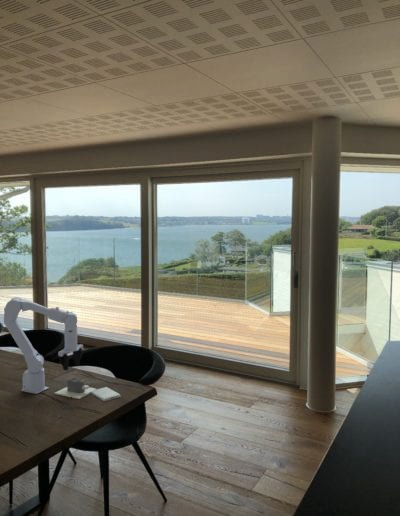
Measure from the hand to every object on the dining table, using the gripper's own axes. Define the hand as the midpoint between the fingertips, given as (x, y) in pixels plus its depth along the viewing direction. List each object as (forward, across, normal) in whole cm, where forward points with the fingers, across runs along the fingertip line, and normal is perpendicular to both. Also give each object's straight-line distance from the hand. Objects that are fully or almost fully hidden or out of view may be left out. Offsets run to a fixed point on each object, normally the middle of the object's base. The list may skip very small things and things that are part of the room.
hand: (71, 367), depth 201 cm
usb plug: (+9, -4, -7) cm, 12 cm away
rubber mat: (+9, -4, -6) cm, 12 cm away
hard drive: (+10, -1, -20) cm, 23 cm away
